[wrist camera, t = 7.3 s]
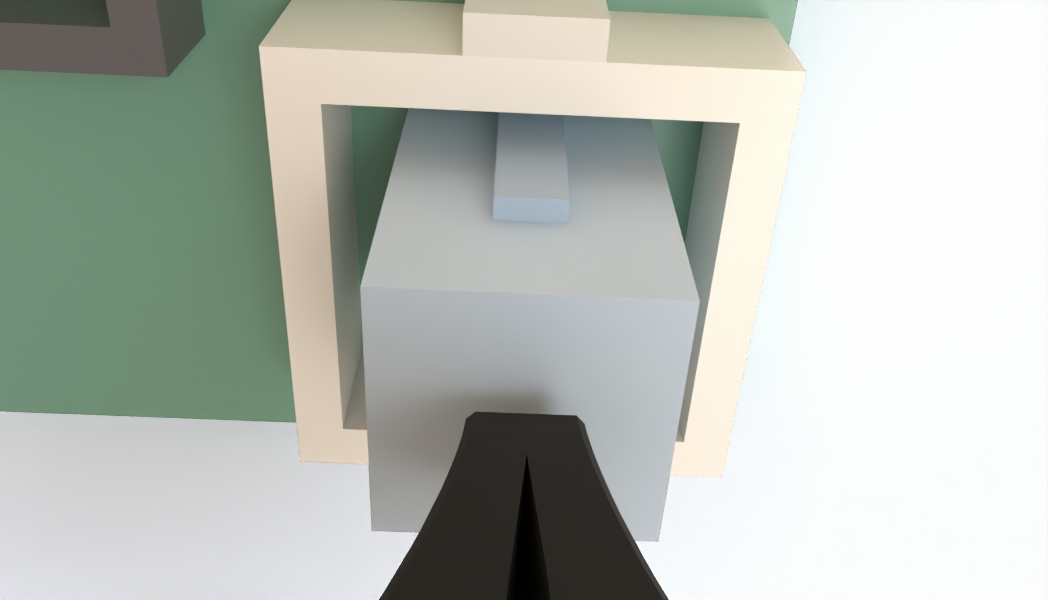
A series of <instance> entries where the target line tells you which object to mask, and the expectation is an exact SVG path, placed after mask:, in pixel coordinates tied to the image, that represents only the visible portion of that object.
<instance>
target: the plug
mask: <svg viewBox="0 0 1048 600" xmlns="http://www.w3.org/2000/svg"><path fill="white" fill-rule="evenodd" d="M360 291H361V312H362V333H363V354H364V376H365V397H366V418H367V440H368V461H369V482H370V503H371V525H372V531H392V532H420V530H421V528H422V526H423V524H424V522H425V520H426V518H427V516H428V514H429V512H430V510H431V508H432V506H433V504H434V502H435V500H436V498H437V496H438V494H439V492H440V490H441V488H442V486H443V484H444V481H445V479H446V477H447V474H448V472H449V470H450V467H451V465H452V463H453V460H454V457H455V455H456V452H457V449H458V446H459V443H460V440H461V437H462V434H463V430H464V425H465V420H466V418H467V417H469V416H470V415H471V414H473V413H474V412H475V411H476V412H501V413H527V414H552V415H577V416H578V417H579V418H580V419H581V420H582V421H583V422H584V423H585V427H586V431H587V434H588V438H589V440H590V443H591V446H592V449H593V452H594V455H595V457H596V460H597V462H598V465H599V467H600V470H601V472H602V475H603V477H604V479H605V481H606V484H607V486H608V488H609V490H610V493H611V495H612V497H613V499H614V501H615V503H616V506H617V508H618V510H619V512H620V514H621V516H622V518H623V520H624V521H625V523H626V525H627V527H628V529H629V531H630V533H631V535H632V537H633V539H634V541H658V540H659V535H660V529H661V523H662V517H663V512H664V506H665V500H666V494H667V488H668V483H669V477H670V471H671V465H672V460H673V454H674V448H675V442H676V437H677V431H678V425H679V419H680V413H681V408H682V402H683V396H684V390H685V385H686V379H687V373H688V367H689V362H690V356H691V350H692V344H693V338H694V333H695V327H696V321H697V315H698V310H699V304H700V300H699V296H698V292H697V289H696V285H695V281H694V278H693V274H692V270H691V267H690V263H689V259H688V256H687V252H686V248H685V245H684V241H683V237H682V234H681V230H680V226H679V223H678V219H677V215H676V212H675V208H674V205H673V201H672V197H671V194H670V190H669V186H668V183H667V179H666V175H665V172H664V168H663V164H662V161H661V157H660V153H659V150H658V146H657V142H656V139H655V135H654V131H653V128H652V124H651V120H650V119H641V118H619V117H597V116H575V115H553V114H531V113H509V112H487V111H465V110H443V109H421V108H408V112H407V116H406V119H405V123H404V127H403V131H402V134H401V138H400V142H399V145H398V149H397V153H396V156H395V160H394V164H393V167H392V171H391V175H390V179H389V182H388V186H387V190H386V193H385V197H384V201H383V204H382V208H381V212H380V216H379V219H378V223H377V227H376V230H375V234H374V238H373V241H372V245H371V249H370V252H369V256H368V260H367V264H366V267H365V271H364V275H363V278H362V282H361V286H360Z"/></svg>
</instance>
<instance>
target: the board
mask: <svg viewBox="0 0 1048 600" xmlns="http://www.w3.org/2000/svg"><path fill="white" fill-rule="evenodd" d="M397 1H418V2H439V3H460V4H465V0H397ZM290 2H291V0H201V3H202V11H203V19H204V26H205V34H206V35H205V36H204V37H203V38H202V39H201V40H200V41H199V43H198V44H197V45H196V46H195V47H194V48H193V49H192V50H191V52H190V53H189V54H188V55H187V56H186V57H185V58H184V60H183V61H182V62H181V63H180V64H179V65H178V66H177V68H176V69H175V70H174V71H173V72H172V73H171V74H170V75H169V77H147V76H125V75H104V74H82V73H60V72H38V71H16V70H0V411H7V412H33V413H60V414H86V415H112V416H138V417H165V418H191V419H217V420H244V421H270V422H296V414H295V404H294V394H293V383H292V373H291V363H290V353H289V343H288V333H287V323H286V313H285V303H284V293H283V283H282V273H281V263H280V253H279V243H278V233H277V223H276V213H275V203H274V193H273V183H272V173H271V163H270V153H269V143H268V133H267V123H266V113H265V103H264V93H263V83H262V73H261V63H260V53H259V45H260V44H261V42H262V41H263V40H264V38H265V37H266V35H267V34H268V33H269V31H270V30H271V28H272V27H273V26H274V24H275V23H276V21H277V20H278V19H279V17H280V16H281V14H282V13H283V12H284V10H285V9H286V7H287V6H288V5H289V3H290ZM797 2H798V0H606V3H607V7H608V11H626V12H647V13H668V14H689V15H710V16H731V17H751V18H770V20H771V21H772V23H773V24H774V26H775V27H776V29H777V30H778V31H779V33H780V34H781V36H782V37H783V39H784V40H785V41H786V43H787V44H788V46H789V43H790V38H791V33H792V28H793V23H794V18H795V13H796V7H797ZM407 112H408V108H399V107H377V106H355V105H351V121H352V141H353V161H354V180H355V200H356V220H357V240H358V260H359V280H360V286H361V282H362V278H363V275H364V271H365V267H366V264H367V260H368V256H369V252H370V249H371V245H372V241H373V238H374V234H375V230H376V227H377V223H378V219H379V216H380V212H381V208H382V204H383V201H384V197H385V193H386V190H387V186H388V182H389V179H390V175H391V171H392V167H393V164H394V160H395V156H396V153H397V149H398V145H399V142H400V138H401V134H402V131H403V127H404V123H405V119H406V116H407ZM650 120H651V124H652V128H653V131H654V135H655V139H656V142H657V146H658V150H659V153H660V157H661V161H662V164H663V168H664V172H665V175H666V179H667V183H668V186H669V190H670V194H671V197H672V201H673V205H674V208H675V212H676V215H677V219H678V223H679V226H680V230H681V234H682V237H683V241H684V245H685V239H686V233H687V226H688V220H689V213H690V207H691V200H692V194H693V187H694V181H695V174H696V168H697V161H698V155H699V148H700V142H701V136H702V129H703V123H704V121H684V120H663V119H650ZM360 300H361V291H360ZM361 320H362V312H361ZM362 339H363V333H362Z"/></svg>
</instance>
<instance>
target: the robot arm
mask: <svg viewBox="0 0 1048 600" xmlns="http://www.w3.org/2000/svg"><path fill="white" fill-rule="evenodd" d="M379 600H668V598H667V596H666V595H665V593H664V591H663V590H662V588H661V586H660V585H659V583H658V582H657V580H656V578H655V577H654V575H653V573H652V571H651V570H650V568H649V566H648V564H647V563H646V561H645V559H644V557H643V556H642V554H641V552H640V550H639V548H638V546H637V544H636V542H635V541H634V539H633V537H632V535H631V533H630V531H629V529H628V527H627V525H626V523H625V521H624V520H623V518H622V516H621V514H620V512H619V510H618V508H617V506H616V503H615V501H614V499H613V497H612V495H611V493H610V490H609V488H608V486H607V484H606V481H605V479H604V477H603V475H602V472H601V470H600V467H599V465H598V462H597V460H596V457H595V455H594V452H593V449H592V446H591V443H590V440H589V438H588V434H587V431H586V427H585V423H584V422H583V421H582V420H581V419H580V418H579V417H578V416H577V415H552V414H527V413H501V412H476V411H475V412H474V413H473V414H471V415H470V416H469V417H467V418H466V420H465V425H464V430H463V434H462V437H461V440H460V443H459V446H458V449H457V452H456V455H455V457H454V460H453V463H452V465H451V467H450V470H449V472H448V474H447V477H446V479H445V481H444V484H443V486H442V488H441V490H440V492H439V494H438V496H437V498H436V500H435V502H434V504H433V506H432V508H431V510H430V512H429V514H428V516H427V518H426V520H425V522H424V524H423V526H422V528H421V530H420V532H419V534H418V536H417V537H416V539H415V541H414V543H413V545H412V546H411V548H410V550H409V551H408V553H407V555H406V556H405V558H404V560H403V561H402V563H401V565H400V566H399V568H398V570H397V571H396V573H395V575H394V576H393V578H392V580H391V581H390V583H389V585H388V586H387V588H386V590H385V591H384V593H383V594H382V596H381V597H380V599H379Z"/></svg>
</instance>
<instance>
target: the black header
mask: <svg viewBox="0 0 1048 600" xmlns="http://www.w3.org/2000/svg"><path fill="white" fill-rule="evenodd" d="M205 35H206V34H205V26H204V19H203V11H202V3H201V0H0V70H16V71H38V72H60V73H82V74H104V75H125V76H147V77H169V75H170V74H171V73H172V72H173V71H174V70H175V69H176V68H177V66H178V65H179V64H180V63H181V62H182V61H183V60H184V58H185V57H186V56H187V55H188V54H189V53H190V52H191V50H192V49H193V48H194V47H195V46H196V45H197V44H198V43H199V41H200V40H201V39H202V38H203V37H204V36H205Z"/></svg>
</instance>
